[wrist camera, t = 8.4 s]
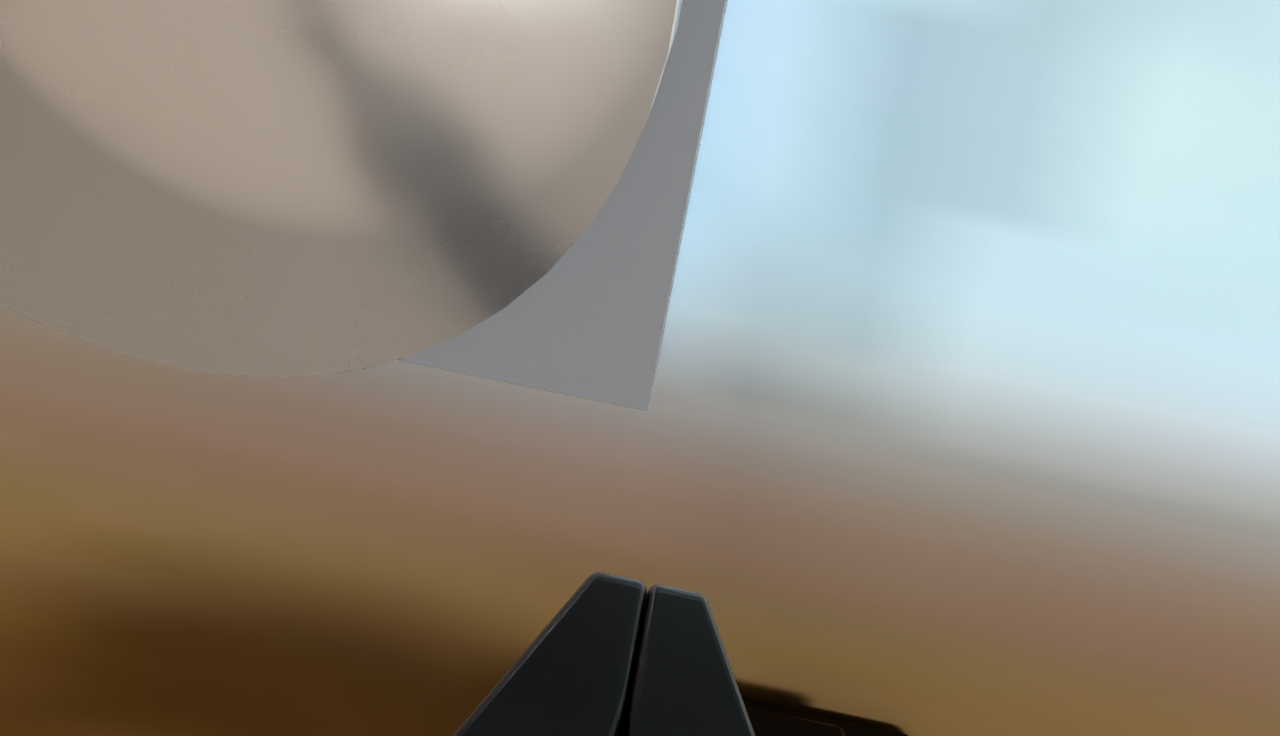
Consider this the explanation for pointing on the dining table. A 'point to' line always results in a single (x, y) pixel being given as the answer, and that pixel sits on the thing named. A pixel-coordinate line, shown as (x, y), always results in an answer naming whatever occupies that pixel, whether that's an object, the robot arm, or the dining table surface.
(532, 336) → the wheel base
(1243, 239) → the dining table surface
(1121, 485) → the dining table surface
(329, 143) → the handwheel
